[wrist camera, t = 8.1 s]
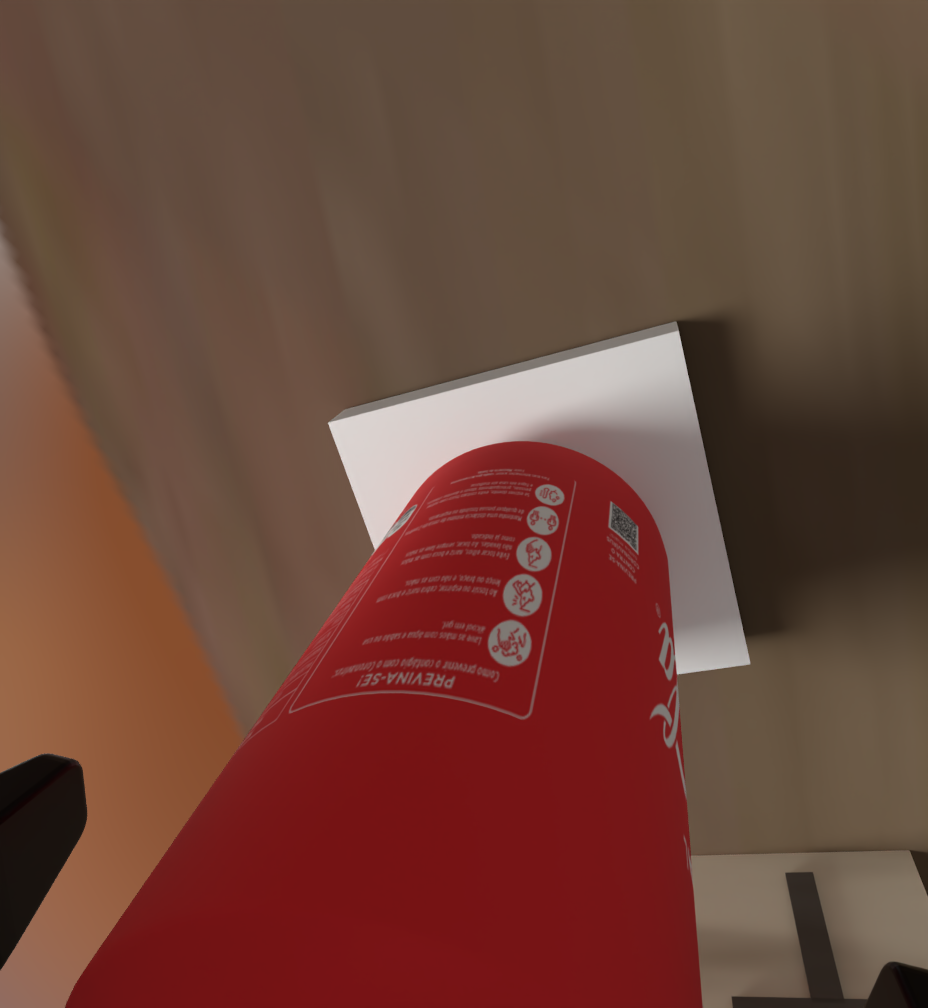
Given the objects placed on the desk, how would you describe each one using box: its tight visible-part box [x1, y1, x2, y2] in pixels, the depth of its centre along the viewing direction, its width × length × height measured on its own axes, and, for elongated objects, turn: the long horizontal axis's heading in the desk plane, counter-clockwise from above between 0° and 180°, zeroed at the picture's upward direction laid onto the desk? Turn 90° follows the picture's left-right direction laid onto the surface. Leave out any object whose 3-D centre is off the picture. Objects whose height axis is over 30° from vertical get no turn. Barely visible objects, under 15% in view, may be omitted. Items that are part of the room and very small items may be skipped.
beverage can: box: [65, 441, 703, 1008], centre depth 11 cm, size 5×5×12 cm
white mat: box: [328, 321, 750, 674], centre depth 17 cm, size 7×7×1 cm
